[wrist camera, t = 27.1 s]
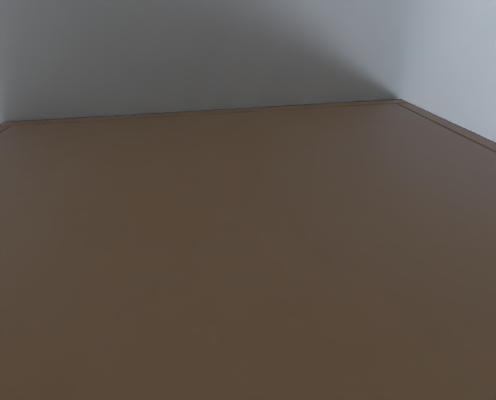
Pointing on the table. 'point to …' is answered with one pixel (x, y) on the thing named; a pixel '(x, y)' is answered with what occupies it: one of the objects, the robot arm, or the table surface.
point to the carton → (248, 256)
